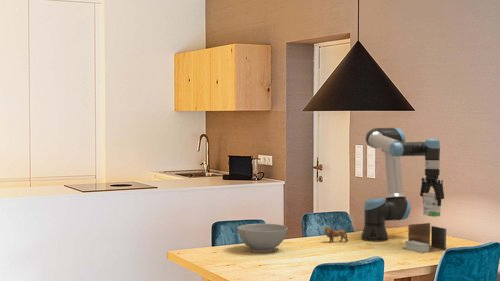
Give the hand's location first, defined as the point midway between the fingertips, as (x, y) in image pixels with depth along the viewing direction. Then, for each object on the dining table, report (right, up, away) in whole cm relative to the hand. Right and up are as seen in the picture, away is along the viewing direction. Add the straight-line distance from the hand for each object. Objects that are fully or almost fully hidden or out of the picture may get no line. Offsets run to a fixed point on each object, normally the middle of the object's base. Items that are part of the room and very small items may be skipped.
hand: (431, 211), depth 381 cm
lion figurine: (-47, -20, +27) cm, 58 cm away
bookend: (+5, -20, +5) cm, 21 cm away
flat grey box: (-8, -20, -2) cm, 22 cm away
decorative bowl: (-89, -21, +4) cm, 92 cm away
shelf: (-3, -21, +3) cm, 22 cm away
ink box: (0, -3, 0) cm, 3 cm away
